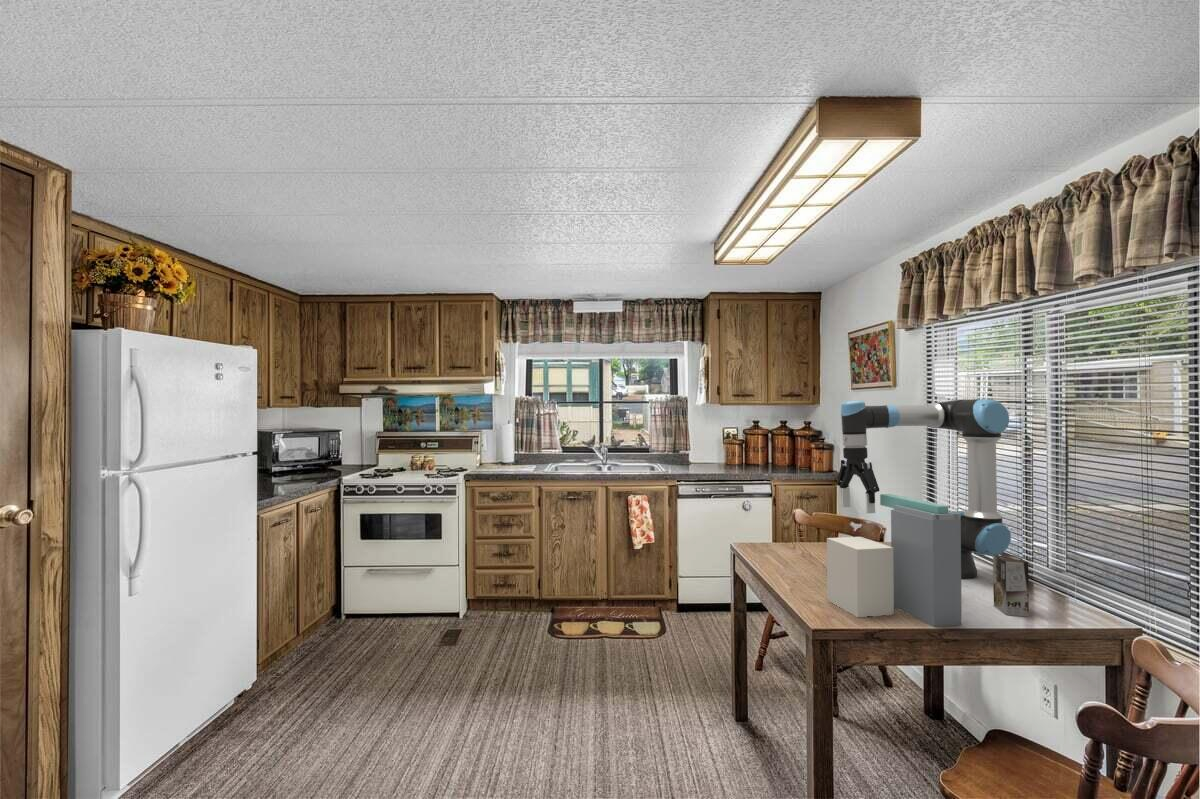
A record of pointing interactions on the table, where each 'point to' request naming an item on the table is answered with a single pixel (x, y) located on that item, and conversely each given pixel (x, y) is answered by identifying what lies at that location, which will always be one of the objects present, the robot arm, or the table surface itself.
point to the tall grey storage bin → (927, 565)
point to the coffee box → (1011, 585)
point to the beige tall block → (860, 576)
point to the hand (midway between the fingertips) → (858, 510)
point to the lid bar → (912, 504)
